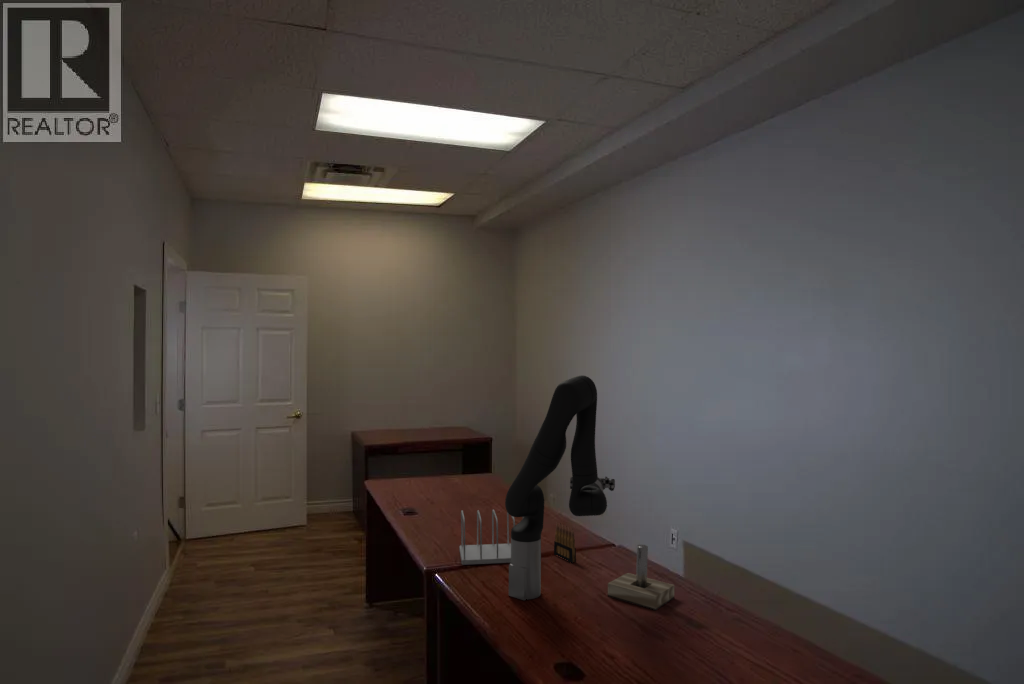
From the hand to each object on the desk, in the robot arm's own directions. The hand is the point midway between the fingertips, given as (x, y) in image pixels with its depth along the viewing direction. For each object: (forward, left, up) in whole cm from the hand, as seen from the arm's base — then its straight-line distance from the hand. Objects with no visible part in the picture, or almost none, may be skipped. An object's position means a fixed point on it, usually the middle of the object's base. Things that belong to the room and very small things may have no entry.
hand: (593, 479), depth 215 cm
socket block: (-6, -21, -32) cm, 39 cm away
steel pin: (-6, -21, -32) cm, 38 cm away
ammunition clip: (+8, +17, -32) cm, 37 cm away
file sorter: (-6, +38, -32) cm, 50 cm away
